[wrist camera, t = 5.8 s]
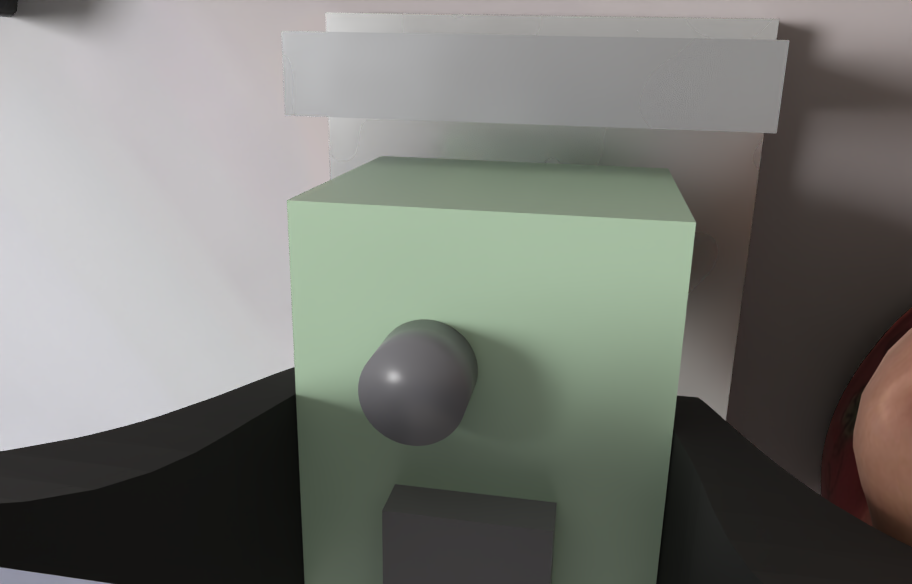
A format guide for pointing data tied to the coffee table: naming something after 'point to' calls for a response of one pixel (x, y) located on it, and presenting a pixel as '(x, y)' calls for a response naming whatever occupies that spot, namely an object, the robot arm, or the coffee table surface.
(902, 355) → the decorative planter
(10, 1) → the disk drive
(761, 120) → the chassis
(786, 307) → the coffee table surface
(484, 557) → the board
